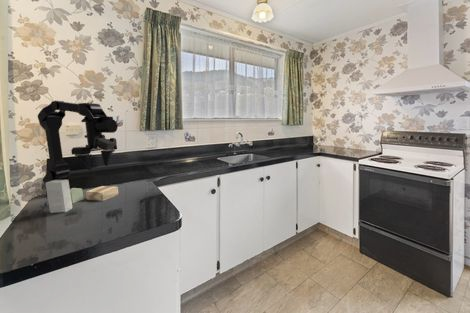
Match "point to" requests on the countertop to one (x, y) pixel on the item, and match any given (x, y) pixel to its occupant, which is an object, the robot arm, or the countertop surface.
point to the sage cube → (76, 194)
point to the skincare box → (59, 196)
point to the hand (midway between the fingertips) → (98, 167)
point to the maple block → (102, 193)
